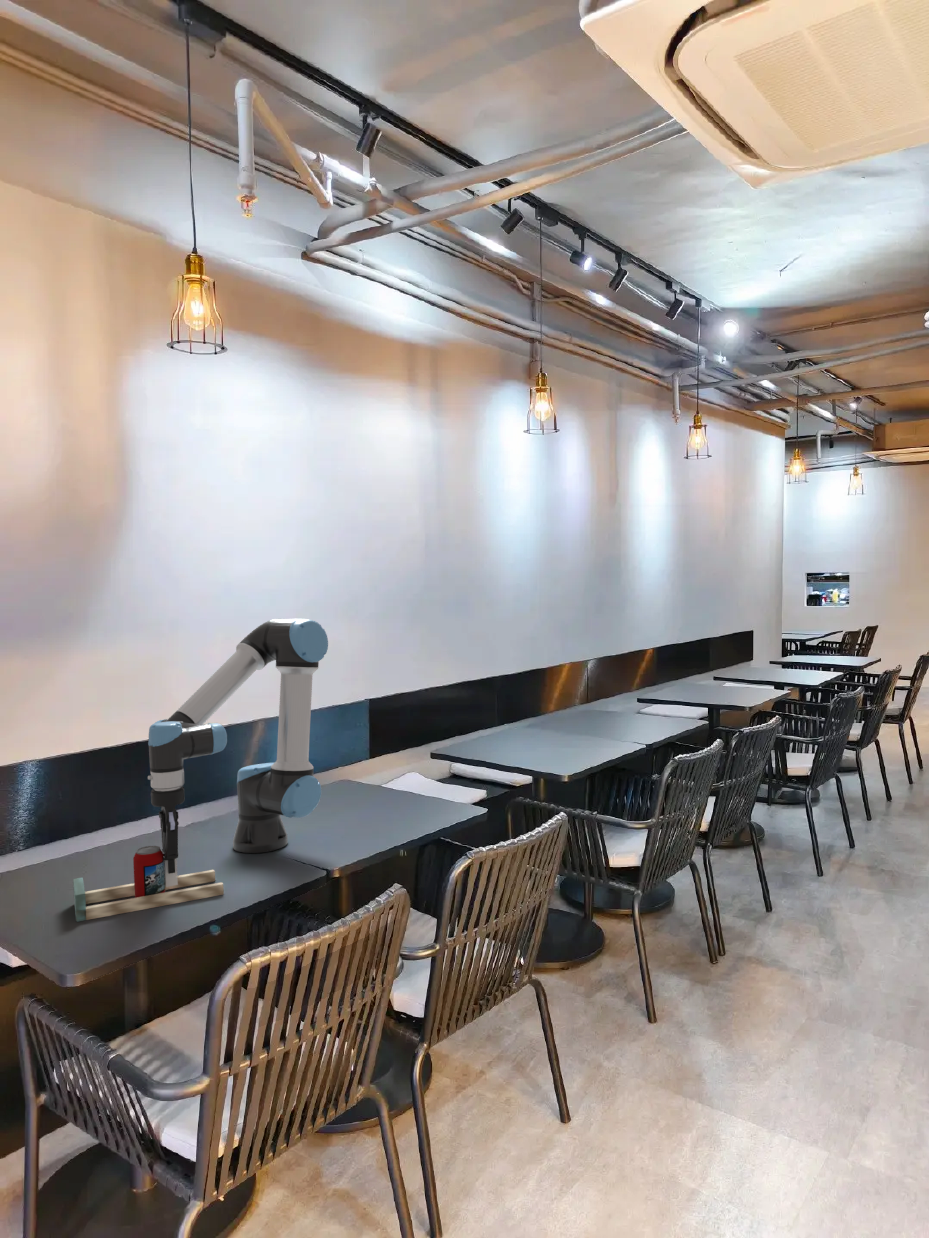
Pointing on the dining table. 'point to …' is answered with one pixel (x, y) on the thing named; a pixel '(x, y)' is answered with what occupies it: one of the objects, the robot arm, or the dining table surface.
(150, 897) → the channel
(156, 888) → the beverage can
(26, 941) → the dining table surface
